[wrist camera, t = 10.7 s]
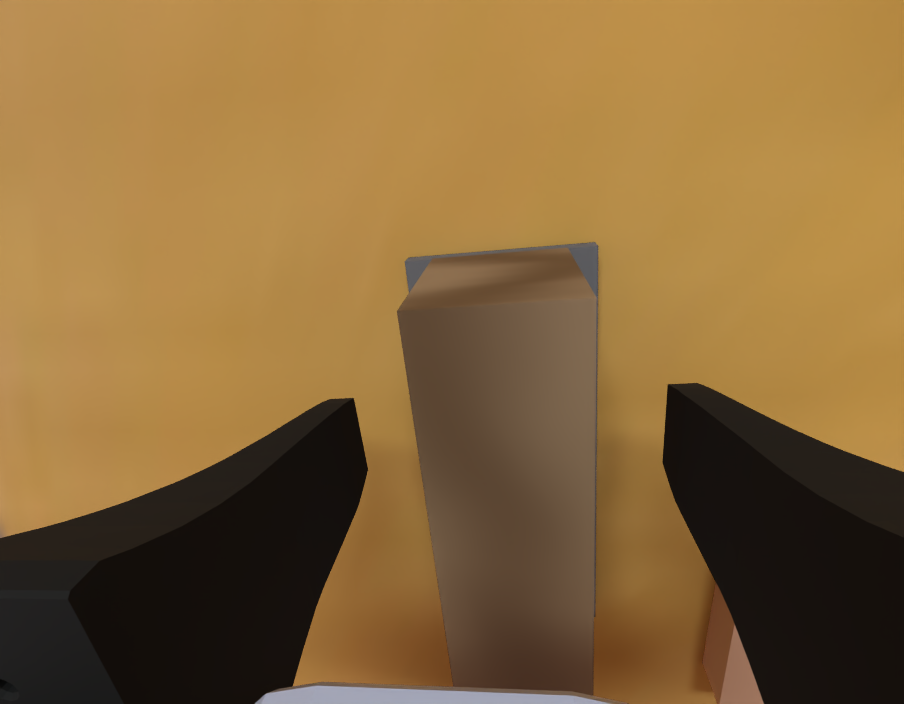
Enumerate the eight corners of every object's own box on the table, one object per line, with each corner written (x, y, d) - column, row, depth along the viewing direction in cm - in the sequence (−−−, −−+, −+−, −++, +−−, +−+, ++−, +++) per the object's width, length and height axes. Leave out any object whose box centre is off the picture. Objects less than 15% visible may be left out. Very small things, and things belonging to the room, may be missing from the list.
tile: (1066, 555, 13) (982, 723, 16) (999, 506, 15) (933, 663, 18) (748, 548, 14) (718, 707, 17) (721, 503, 16) (698, 652, 19)
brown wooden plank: (567, 247, 13) (596, 298, 8) (572, 595, 17) (592, 738, 13) (432, 258, 13) (397, 311, 9) (471, 593, 18) (460, 731, 13)
